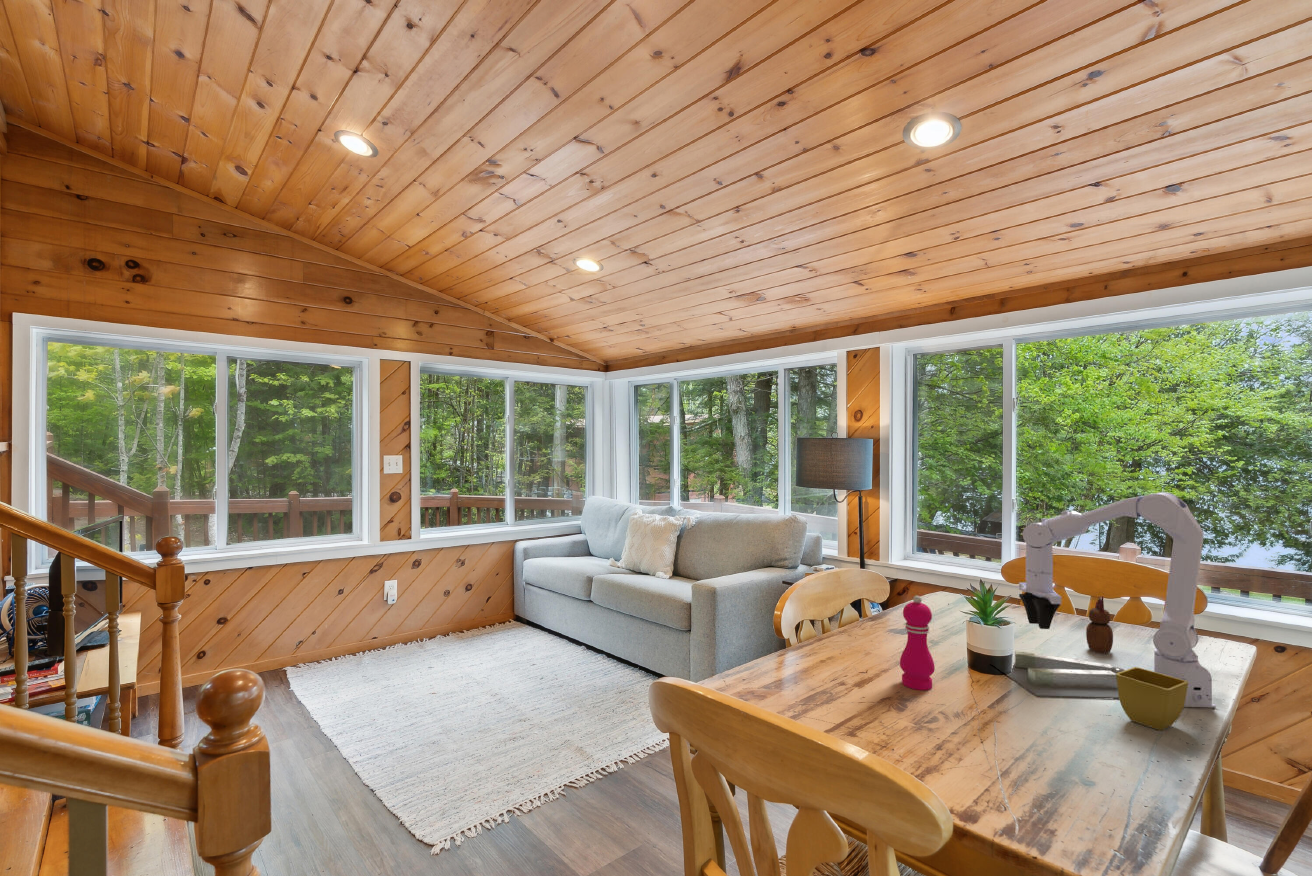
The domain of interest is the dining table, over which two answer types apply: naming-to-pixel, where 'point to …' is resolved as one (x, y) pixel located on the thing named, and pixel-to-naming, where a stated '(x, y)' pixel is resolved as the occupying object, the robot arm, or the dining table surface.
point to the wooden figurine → (1099, 629)
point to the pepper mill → (917, 647)
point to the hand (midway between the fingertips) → (1039, 625)
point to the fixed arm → (1072, 678)
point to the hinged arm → (1058, 663)
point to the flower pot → (1151, 697)
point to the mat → (1060, 688)
